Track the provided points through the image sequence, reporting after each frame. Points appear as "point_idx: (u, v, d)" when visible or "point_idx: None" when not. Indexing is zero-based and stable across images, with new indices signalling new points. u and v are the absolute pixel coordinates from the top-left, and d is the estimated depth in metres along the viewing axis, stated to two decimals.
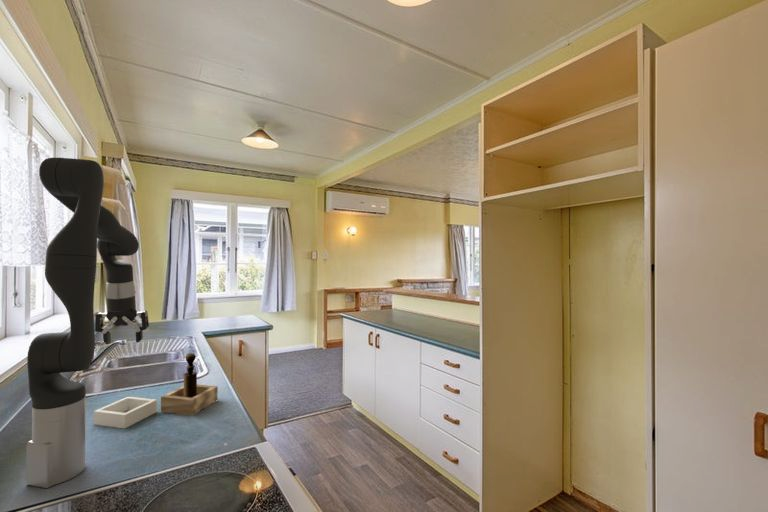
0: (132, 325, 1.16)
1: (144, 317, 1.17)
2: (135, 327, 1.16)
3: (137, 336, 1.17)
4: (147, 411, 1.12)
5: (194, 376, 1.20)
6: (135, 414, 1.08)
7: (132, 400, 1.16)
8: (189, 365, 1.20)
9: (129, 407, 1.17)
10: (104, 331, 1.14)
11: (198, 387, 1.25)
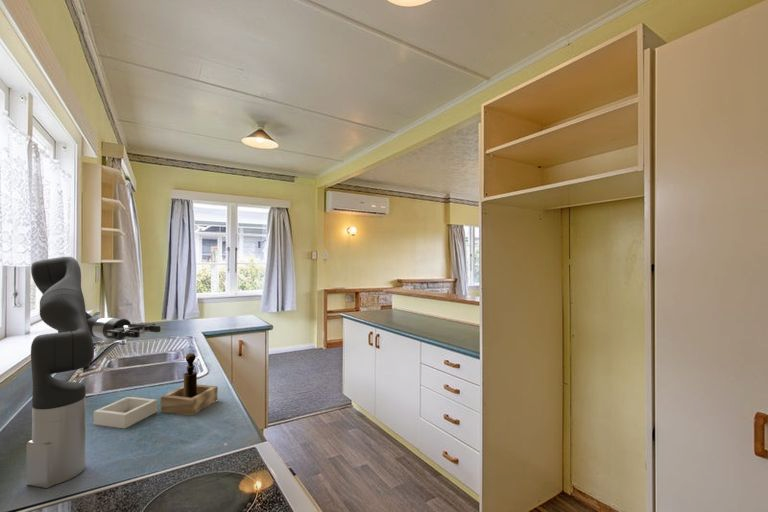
0: (143, 323, 1.29)
1: (145, 323, 1.32)
2: (146, 325, 1.29)
3: None
4: (147, 411, 1.12)
5: (194, 376, 1.20)
6: (135, 414, 1.08)
7: (132, 400, 1.16)
8: (189, 365, 1.20)
9: (129, 407, 1.17)
10: None
11: (198, 387, 1.25)
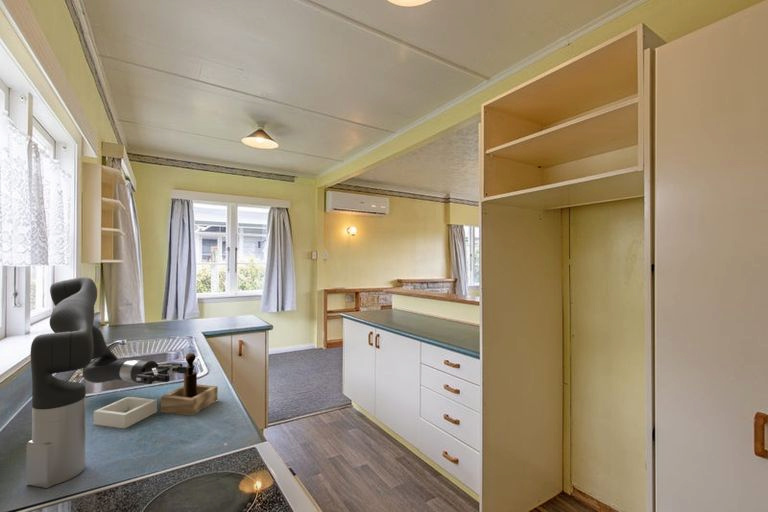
0: (170, 365, 1.26)
1: (172, 363, 1.30)
2: (174, 366, 1.26)
3: None
4: (147, 411, 1.12)
5: (194, 376, 1.20)
6: (135, 414, 1.08)
7: (132, 400, 1.16)
8: (189, 365, 1.20)
9: (129, 407, 1.17)
10: (156, 374, 1.18)
11: (198, 387, 1.25)
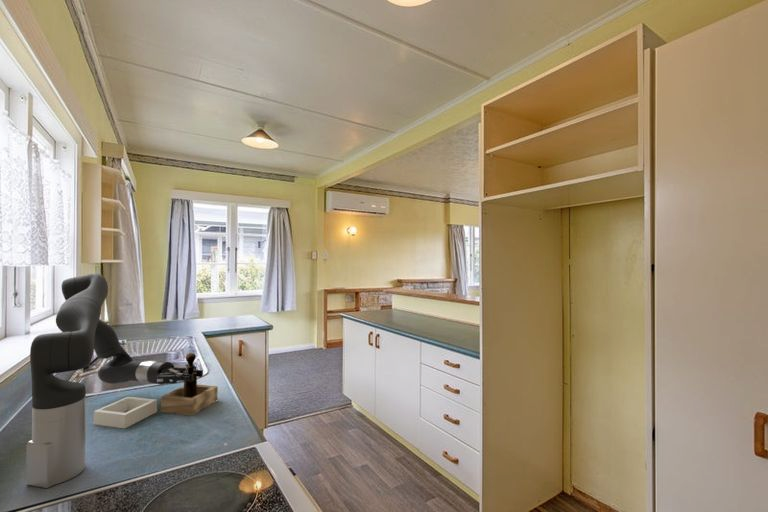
0: (185, 367, 1.23)
1: None
2: None
3: None
4: (147, 411, 1.12)
5: (194, 376, 1.20)
6: (135, 414, 1.08)
7: (132, 400, 1.16)
8: (189, 365, 1.20)
9: (129, 407, 1.17)
10: (180, 373, 1.18)
11: (198, 387, 1.25)
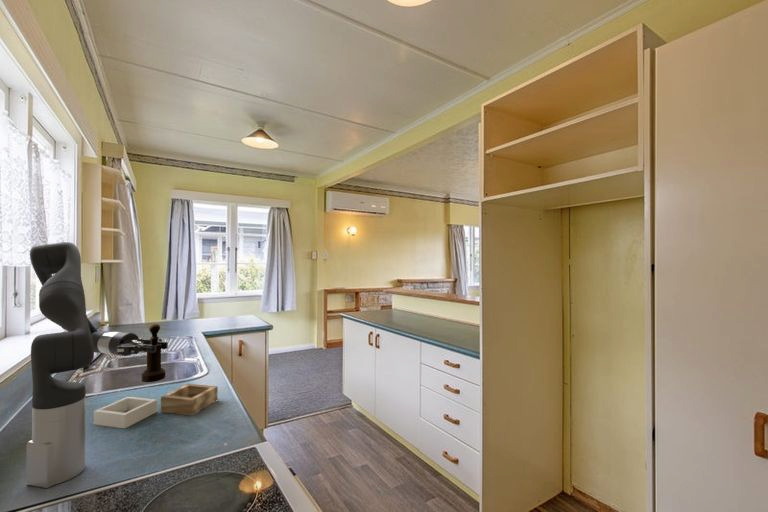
0: None
1: None
2: None
3: None
4: (147, 411, 1.12)
5: (158, 347, 1.14)
6: (135, 414, 1.08)
7: (132, 400, 1.16)
8: (152, 335, 1.14)
9: (129, 407, 1.17)
10: (142, 344, 1.13)
11: (198, 387, 1.25)
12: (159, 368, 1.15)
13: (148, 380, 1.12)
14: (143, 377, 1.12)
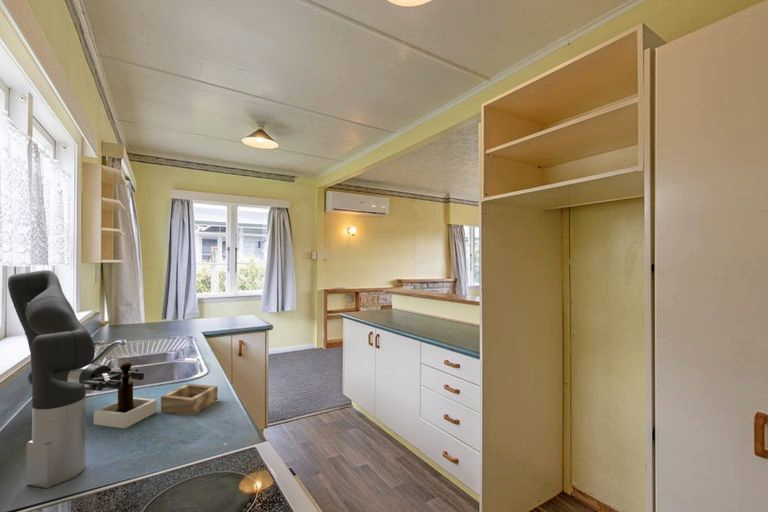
0: None
1: None
2: (128, 371, 1.16)
3: None
4: (147, 411, 1.12)
5: (129, 386, 1.11)
6: (135, 414, 1.08)
7: None
8: (123, 373, 1.11)
9: None
10: (107, 379, 1.08)
11: (198, 387, 1.25)
12: (131, 407, 1.11)
13: None
14: None
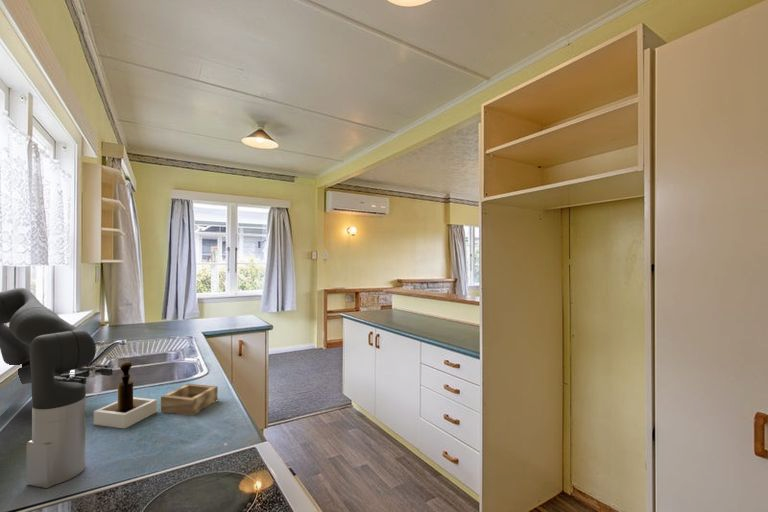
0: (93, 366, 1.18)
1: (97, 364, 1.22)
2: (97, 367, 1.19)
3: None
4: (147, 411, 1.12)
5: (129, 386, 1.11)
6: (135, 414, 1.08)
7: None
8: (123, 373, 1.11)
9: None
10: (72, 376, 1.10)
11: (198, 387, 1.25)
12: (131, 407, 1.11)
13: None
14: None
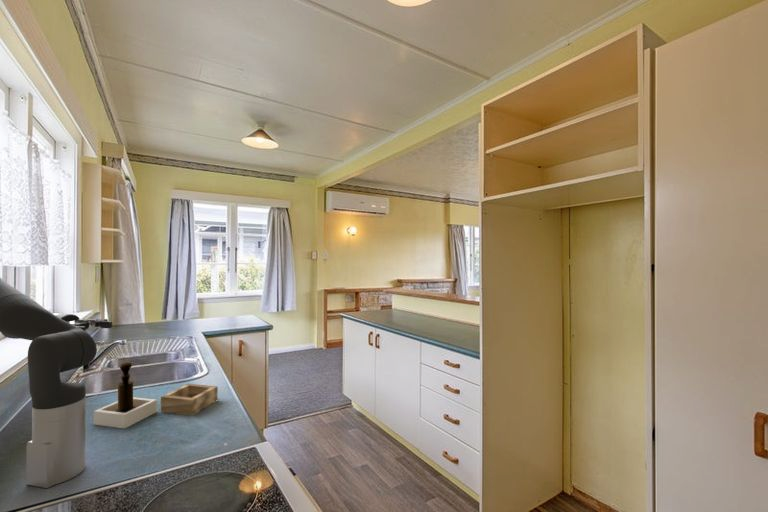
0: (93, 319, 1.18)
1: (97, 319, 1.22)
2: (97, 320, 1.19)
3: None
4: (147, 411, 1.12)
5: (129, 386, 1.11)
6: (135, 414, 1.08)
7: None
8: (123, 373, 1.11)
9: None
10: None
11: (198, 387, 1.25)
12: (131, 407, 1.11)
13: None
14: None
